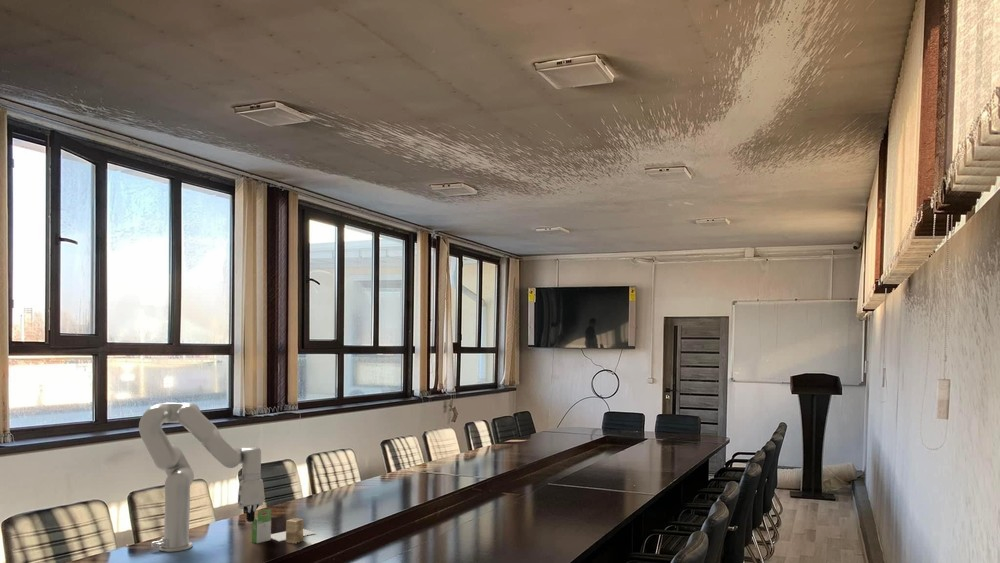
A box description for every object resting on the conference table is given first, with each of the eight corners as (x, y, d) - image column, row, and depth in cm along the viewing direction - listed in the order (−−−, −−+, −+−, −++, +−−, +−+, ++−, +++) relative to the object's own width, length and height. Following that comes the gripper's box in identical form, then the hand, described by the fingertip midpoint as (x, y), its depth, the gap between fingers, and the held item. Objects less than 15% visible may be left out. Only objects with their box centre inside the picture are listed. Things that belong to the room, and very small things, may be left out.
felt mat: (279, 541, 319) (279, 540, 319) (265, 536, 327) (265, 535, 327) (315, 534, 331) (316, 533, 331) (301, 529, 340) (301, 528, 340)
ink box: (265, 538, 323) (266, 507, 324) (271, 540, 321) (271, 508, 322) (251, 542, 318) (252, 510, 319) (256, 543, 315) (257, 511, 316)
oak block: (294, 543, 316) (295, 521, 317) (285, 542, 318) (286, 520, 319) (303, 540, 320) (303, 519, 321) (294, 539, 323) (294, 518, 323)
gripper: (238, 480, 309) (237, 526, 308) (271, 475, 320) (270, 519, 319) (230, 478, 315) (229, 522, 313) (263, 473, 325) (262, 516, 324)
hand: (250, 521), depth 316 cm, fingers closed
